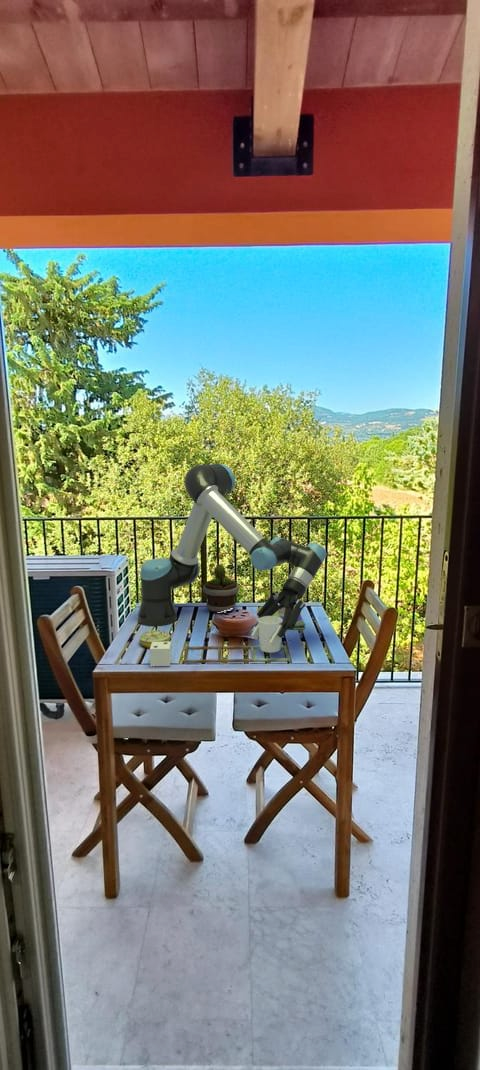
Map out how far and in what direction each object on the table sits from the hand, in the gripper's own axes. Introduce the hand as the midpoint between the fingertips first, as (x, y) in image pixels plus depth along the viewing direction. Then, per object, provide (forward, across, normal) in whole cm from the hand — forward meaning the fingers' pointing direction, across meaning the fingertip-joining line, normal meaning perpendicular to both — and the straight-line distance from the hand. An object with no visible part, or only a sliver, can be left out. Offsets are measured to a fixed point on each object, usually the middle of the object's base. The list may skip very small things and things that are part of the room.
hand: (262, 640), depth 174 cm
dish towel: (-18, +22, -27) cm, 39 cm away
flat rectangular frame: (+7, +7, 0) cm, 10 cm away
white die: (+23, +18, +16) cm, 33 cm away
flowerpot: (-11, +46, -19) cm, 51 cm away
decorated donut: (+18, +34, +10) cm, 39 cm away
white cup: (0, 0, -5) cm, 5 cm away
